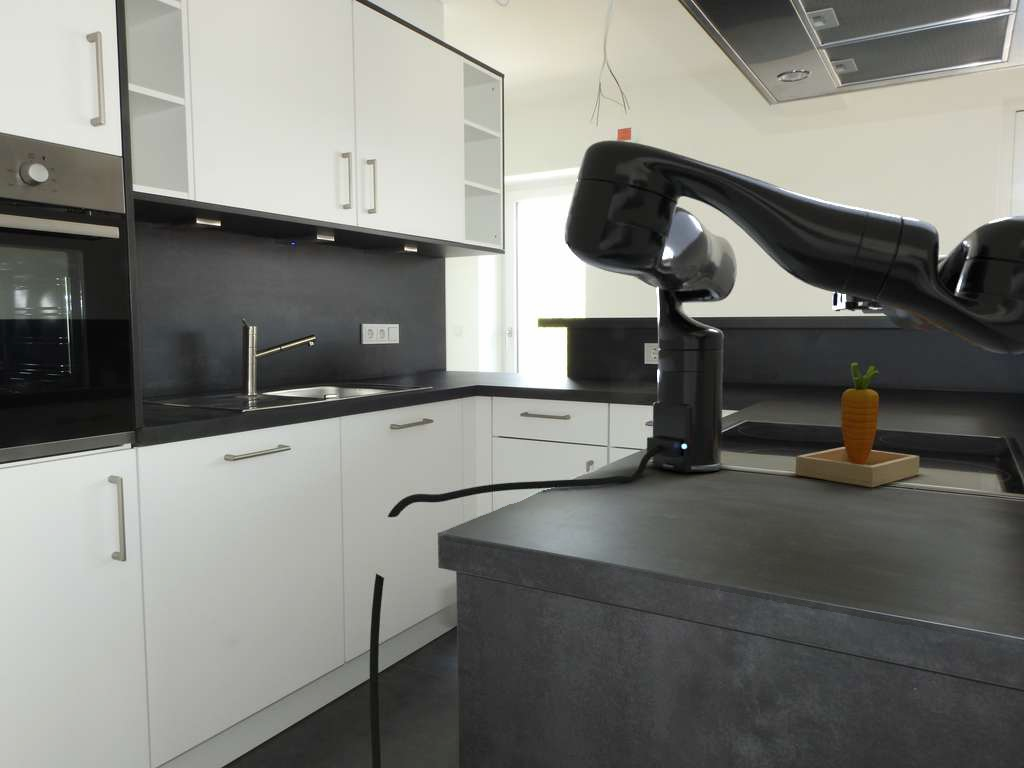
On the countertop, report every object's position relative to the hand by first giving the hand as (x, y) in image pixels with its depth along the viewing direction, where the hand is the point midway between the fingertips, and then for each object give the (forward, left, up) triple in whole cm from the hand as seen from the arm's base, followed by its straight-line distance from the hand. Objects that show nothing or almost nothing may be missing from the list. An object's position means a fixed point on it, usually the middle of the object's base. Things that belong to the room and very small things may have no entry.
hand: (885, 300), depth 88 cm
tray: (+8, +6, -24) cm, 26 cm away
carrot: (+8, +6, -23) cm, 25 cm away
